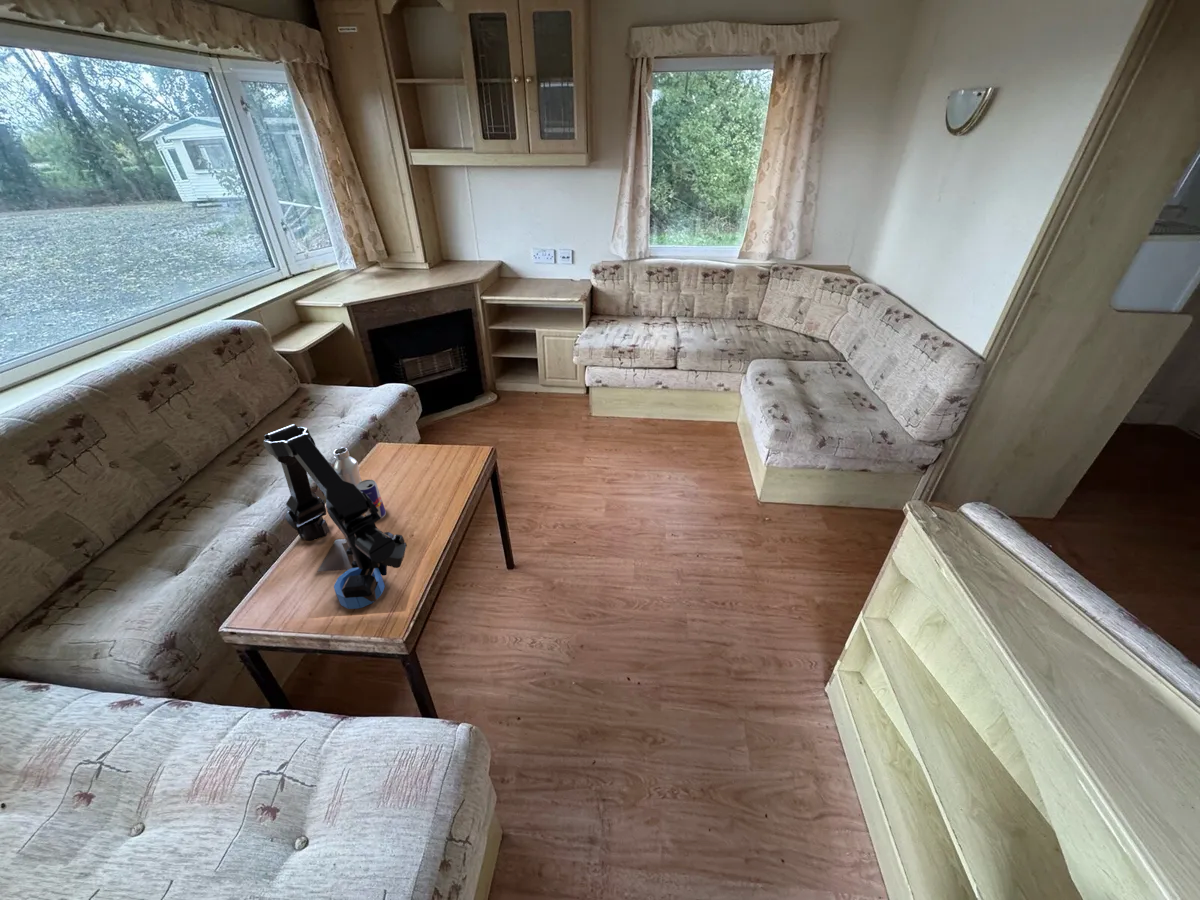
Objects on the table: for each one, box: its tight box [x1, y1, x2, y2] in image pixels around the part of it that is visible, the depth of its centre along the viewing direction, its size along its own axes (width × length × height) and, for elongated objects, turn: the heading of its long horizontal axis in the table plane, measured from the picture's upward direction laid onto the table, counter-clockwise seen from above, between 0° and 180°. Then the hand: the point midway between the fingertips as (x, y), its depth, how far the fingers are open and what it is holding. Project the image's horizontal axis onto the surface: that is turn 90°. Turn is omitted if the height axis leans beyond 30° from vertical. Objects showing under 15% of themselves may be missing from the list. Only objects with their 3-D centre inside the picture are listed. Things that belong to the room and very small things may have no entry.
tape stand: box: [317, 538, 354, 573], centre depth 128 cm, size 12×12×5 cm
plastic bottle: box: [333, 447, 363, 487], centre depth 142 cm, size 6×7×20 cm
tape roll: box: [333, 568, 386, 610], centre depth 117 cm, size 10×10×5 cm
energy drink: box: [357, 479, 387, 519], centre depth 140 cm, size 5×5×12 cm
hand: (379, 587), depth 117 cm, fingers closed on tape roll, 8 cm apart
